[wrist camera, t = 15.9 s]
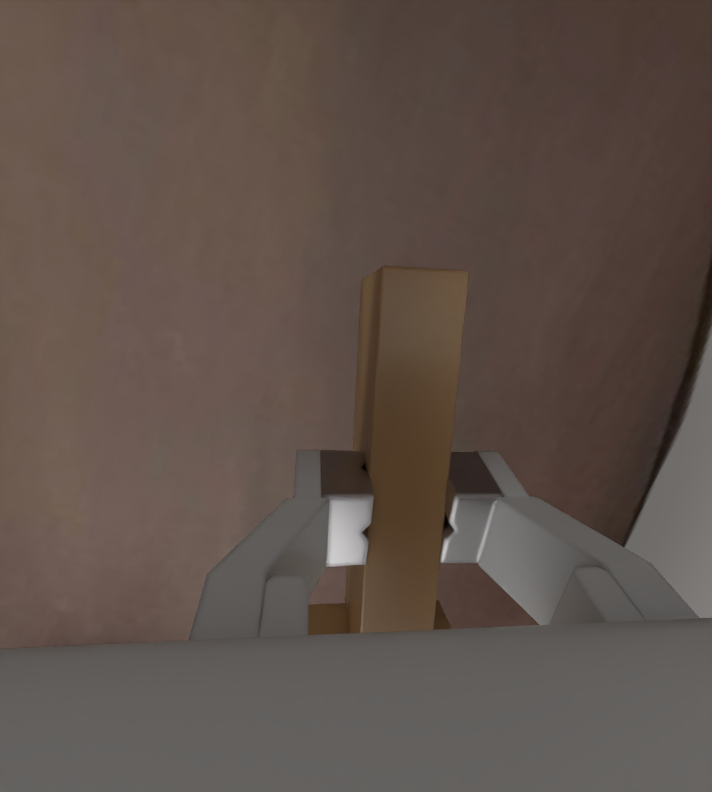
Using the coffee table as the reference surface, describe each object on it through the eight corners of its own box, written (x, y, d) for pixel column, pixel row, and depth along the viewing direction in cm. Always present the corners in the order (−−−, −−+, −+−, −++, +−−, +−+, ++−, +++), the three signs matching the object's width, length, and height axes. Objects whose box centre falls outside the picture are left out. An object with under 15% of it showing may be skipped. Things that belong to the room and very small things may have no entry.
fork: (471, 285, 10) (533, 274, 7) (415, 833, 14) (443, 972, 11) (311, 275, 10) (311, 260, 7) (296, 845, 13) (291, 994, 10)
